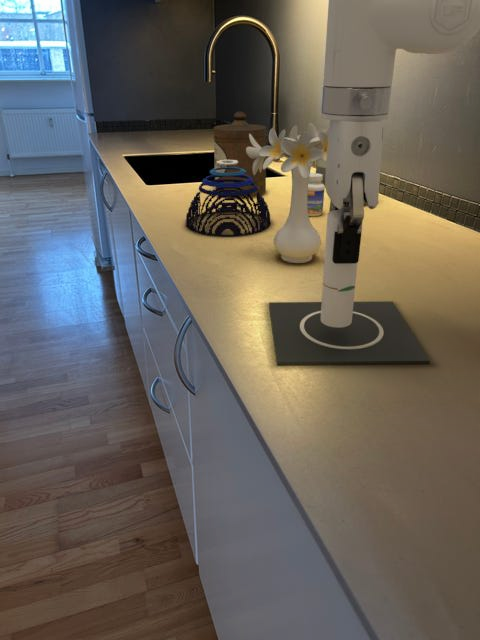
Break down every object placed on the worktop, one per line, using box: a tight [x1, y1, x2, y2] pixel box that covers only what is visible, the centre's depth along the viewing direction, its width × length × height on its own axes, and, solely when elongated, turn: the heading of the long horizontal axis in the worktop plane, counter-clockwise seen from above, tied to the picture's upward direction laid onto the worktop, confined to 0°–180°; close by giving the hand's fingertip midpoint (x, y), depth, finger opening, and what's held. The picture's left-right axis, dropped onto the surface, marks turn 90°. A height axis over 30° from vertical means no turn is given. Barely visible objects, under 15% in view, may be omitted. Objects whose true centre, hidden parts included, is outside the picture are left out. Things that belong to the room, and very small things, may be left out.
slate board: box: [268, 301, 431, 366], centre depth 75 cm, size 20×18×1 cm
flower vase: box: [246, 122, 329, 264], centre depth 95 cm, size 13×18×25 cm
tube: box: [321, 210, 359, 328], centre depth 68 cm, size 4×4×15 cm
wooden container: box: [213, 111, 267, 199], centre depth 145 cm, size 15×15×22 cm
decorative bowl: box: [185, 160, 272, 238], centre depth 119 cm, size 20×20×14 cm
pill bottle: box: [308, 172, 326, 217], centre depth 127 cm, size 5×5×10 cm
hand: (341, 254), depth 67 cm, fingers closed on tube, 4 cm apart
